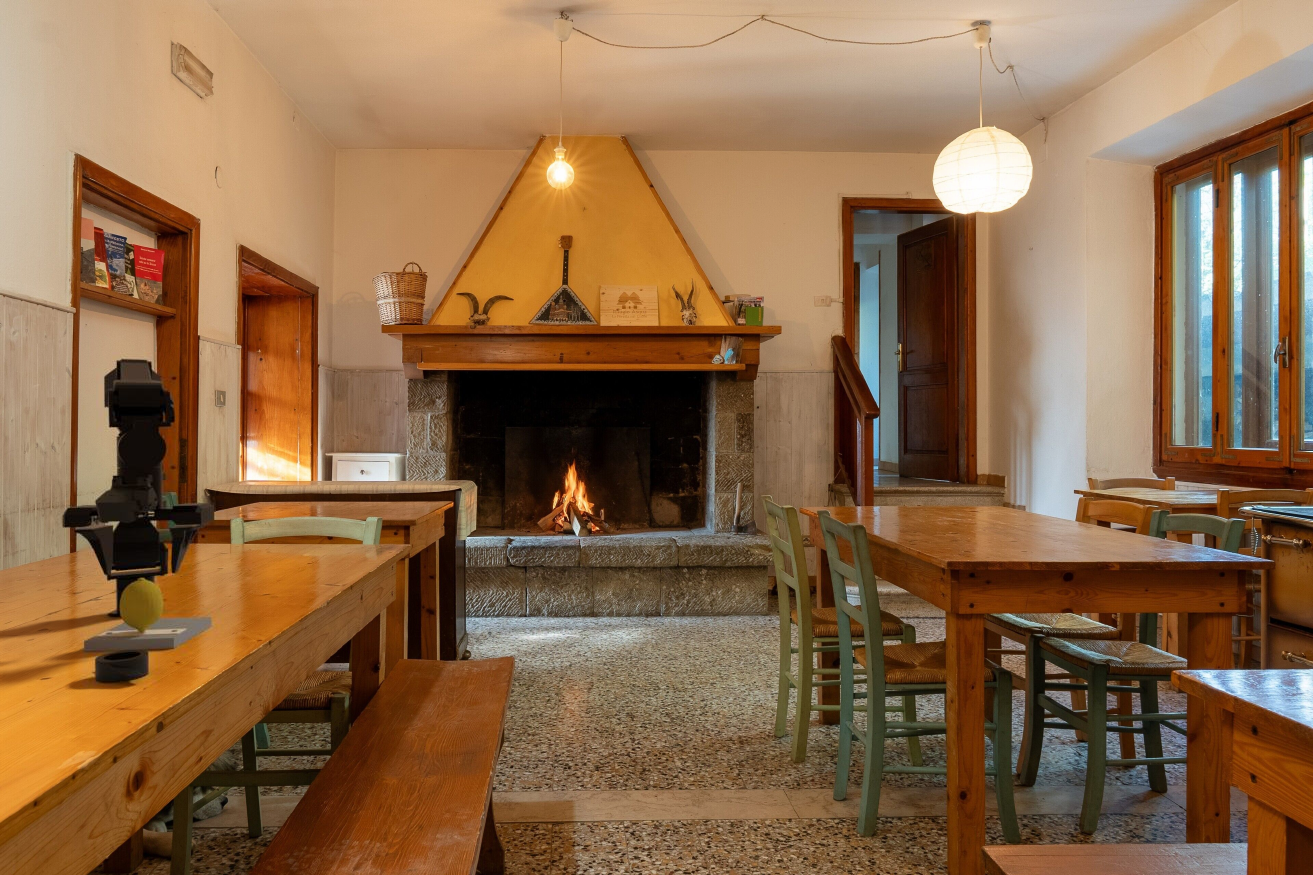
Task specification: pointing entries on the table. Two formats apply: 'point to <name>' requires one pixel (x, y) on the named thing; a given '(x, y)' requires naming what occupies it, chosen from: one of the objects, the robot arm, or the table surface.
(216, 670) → the table surface
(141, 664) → the black piece
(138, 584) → the lemon
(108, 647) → the grey flat block
